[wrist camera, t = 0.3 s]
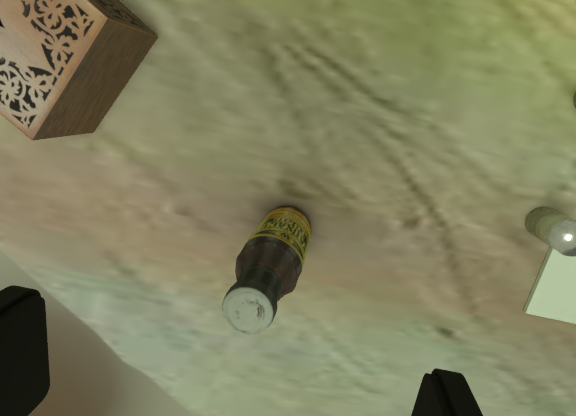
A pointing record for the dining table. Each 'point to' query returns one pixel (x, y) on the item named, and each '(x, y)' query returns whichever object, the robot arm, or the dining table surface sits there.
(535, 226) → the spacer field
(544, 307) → the sage mat
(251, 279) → the sauce bottle
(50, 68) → the tissue box cover
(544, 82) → the dining table surface
